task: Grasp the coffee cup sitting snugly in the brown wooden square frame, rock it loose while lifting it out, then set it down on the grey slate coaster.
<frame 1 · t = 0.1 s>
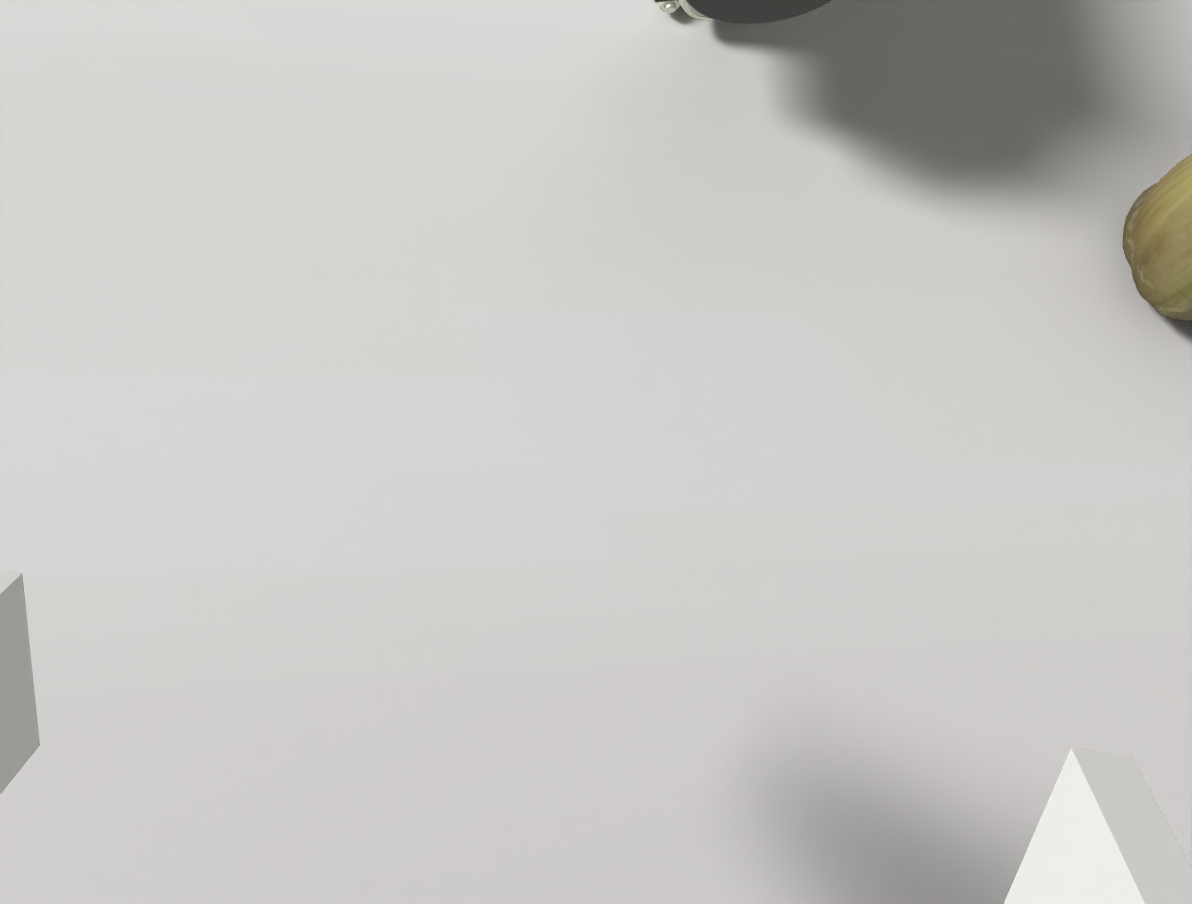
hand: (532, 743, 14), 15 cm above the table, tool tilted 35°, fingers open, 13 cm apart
fennel bulb: (1191, 262, 32), on the table
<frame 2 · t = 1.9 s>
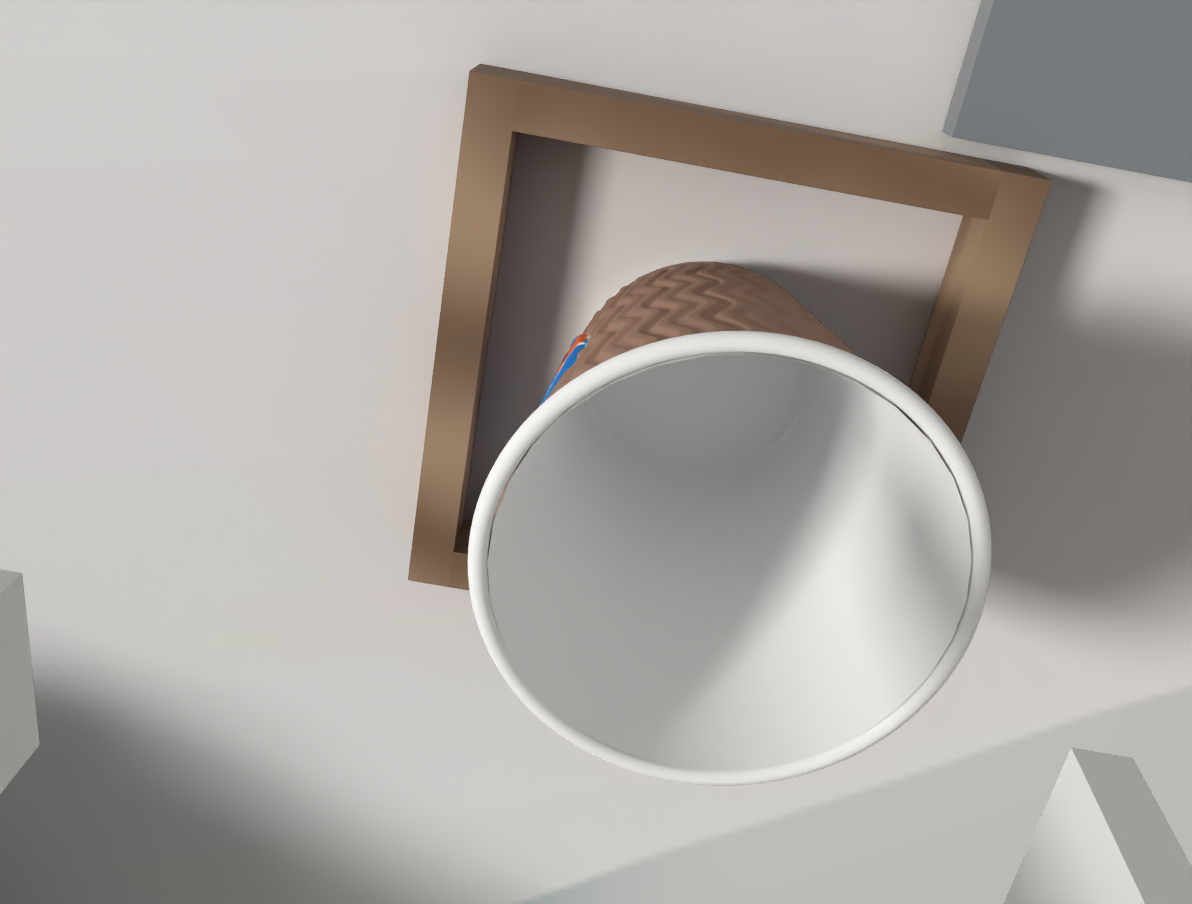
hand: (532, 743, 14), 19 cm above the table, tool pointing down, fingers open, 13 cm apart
brown wooden square frame: (696, 373, 32), on the table
coffee cup: (696, 371, 32), resting in brown wooden square frame
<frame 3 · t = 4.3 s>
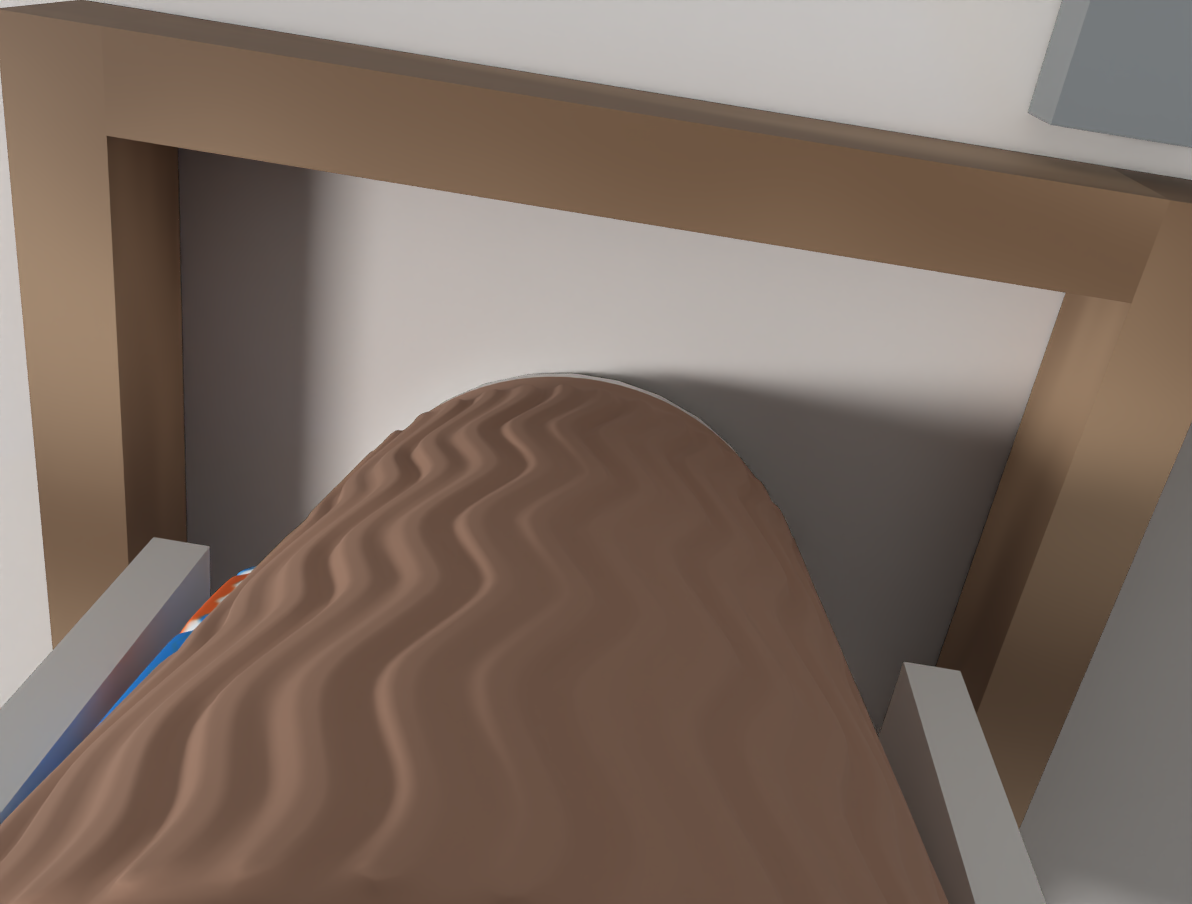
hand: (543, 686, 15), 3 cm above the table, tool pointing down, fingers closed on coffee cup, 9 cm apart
brown wooden square frame: (565, 569, 18), on the table
coffee cup: (567, 561, 18), resting in brown wooden square frame, touching gripper
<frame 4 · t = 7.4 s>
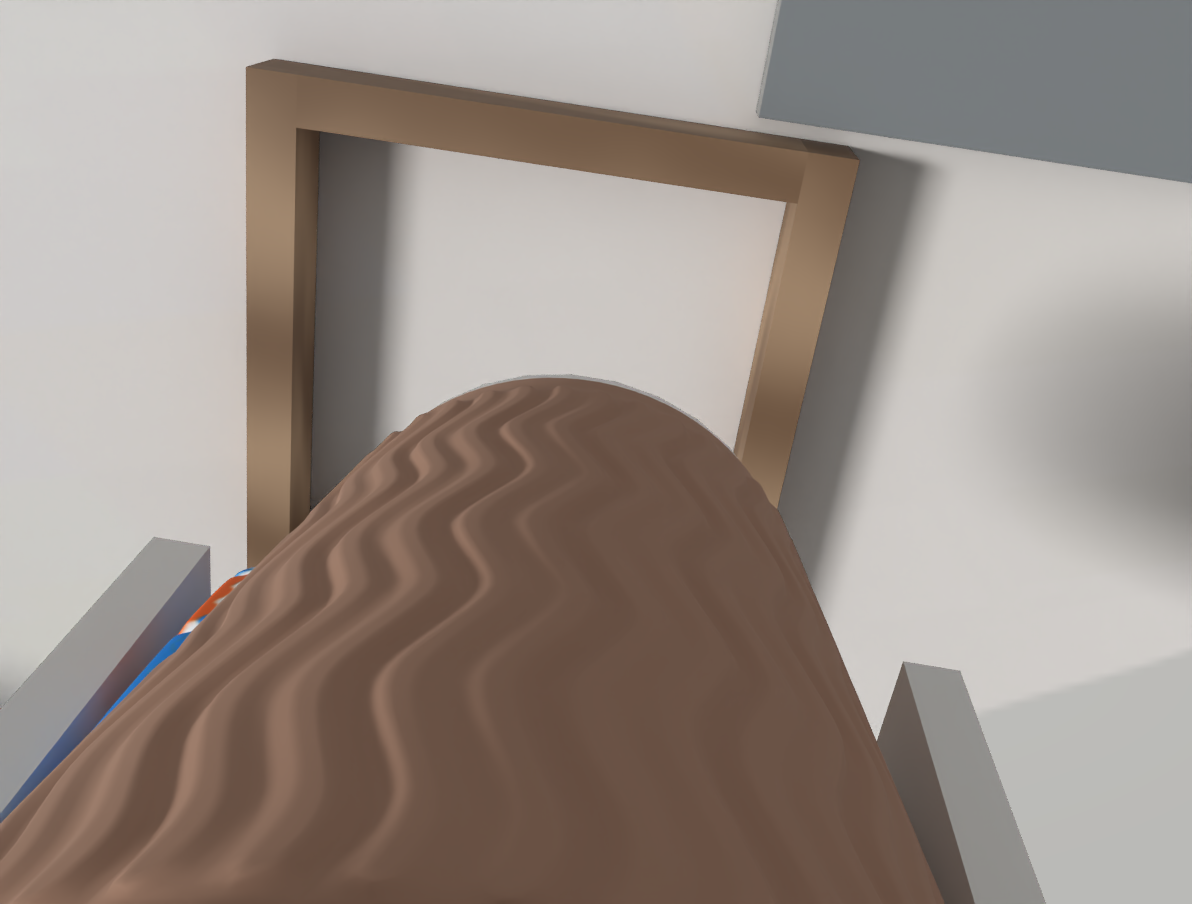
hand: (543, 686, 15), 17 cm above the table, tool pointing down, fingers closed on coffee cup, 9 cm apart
brown wooden square frame: (529, 371, 31), on the table
coffee cup: (566, 562, 18), point 14 cm above the table, touching gripper
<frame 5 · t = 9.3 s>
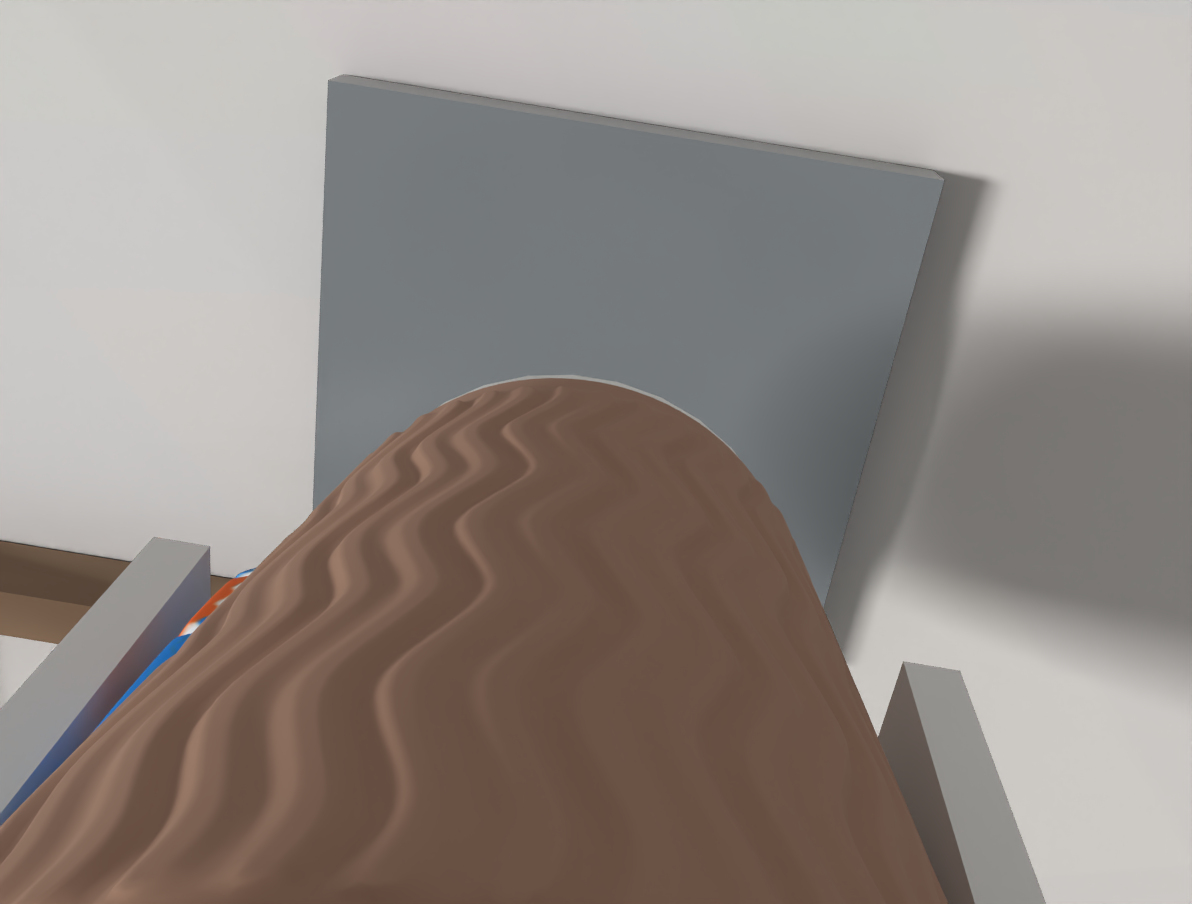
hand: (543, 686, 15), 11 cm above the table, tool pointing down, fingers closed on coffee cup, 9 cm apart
slate coaster: (595, 395, 24), on the table
brown wooden square frame: (136, 787, 30), on the table
coffee cup: (567, 563, 18), point 7 cm above the table, touching gripper
when the fingers open (5 cm above the table, at t = 10.7 s): coffee cup drops 1 cm, resting on slate coaster.
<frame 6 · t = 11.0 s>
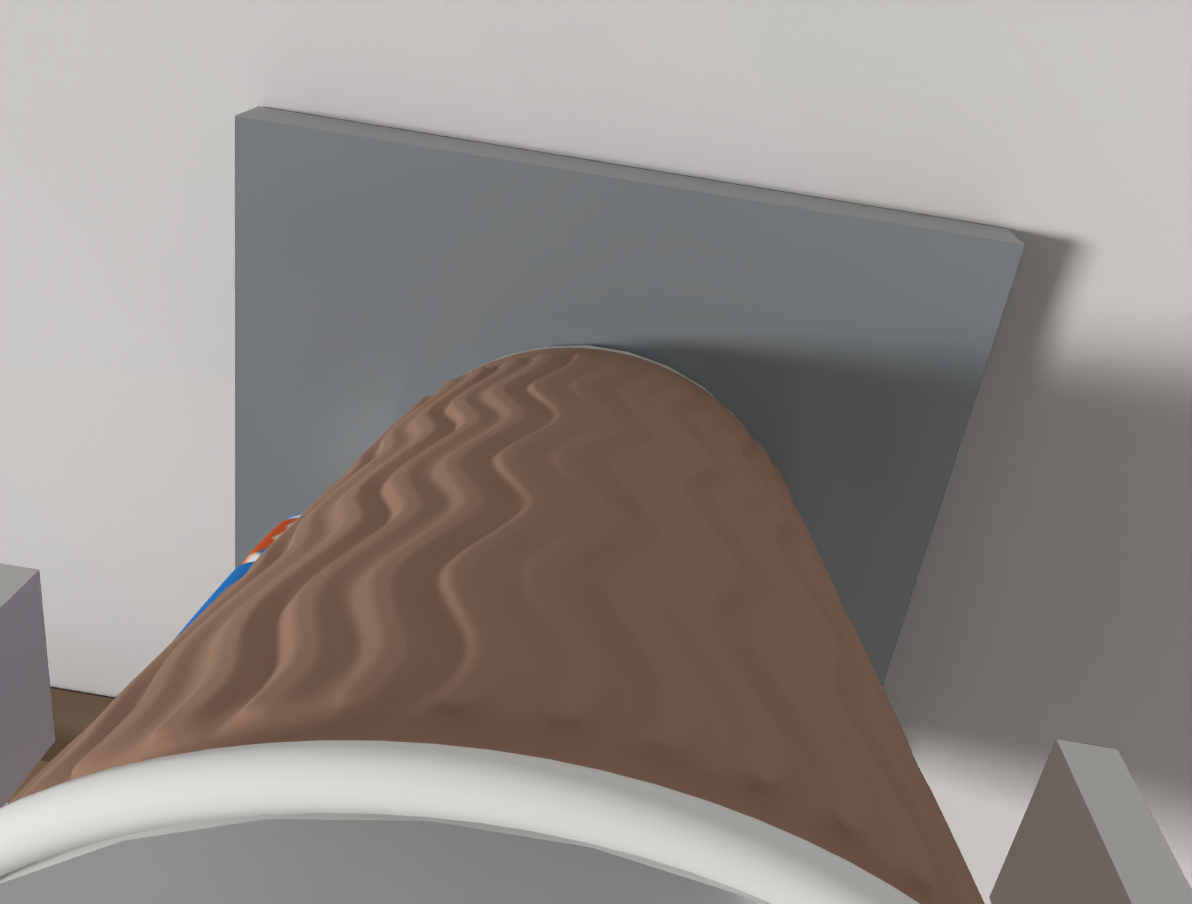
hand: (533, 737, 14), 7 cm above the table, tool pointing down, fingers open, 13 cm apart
slate coaster: (580, 497, 20), on the table
coffee cup: (580, 523, 19), point 1 cm above the table, touching slate coaster
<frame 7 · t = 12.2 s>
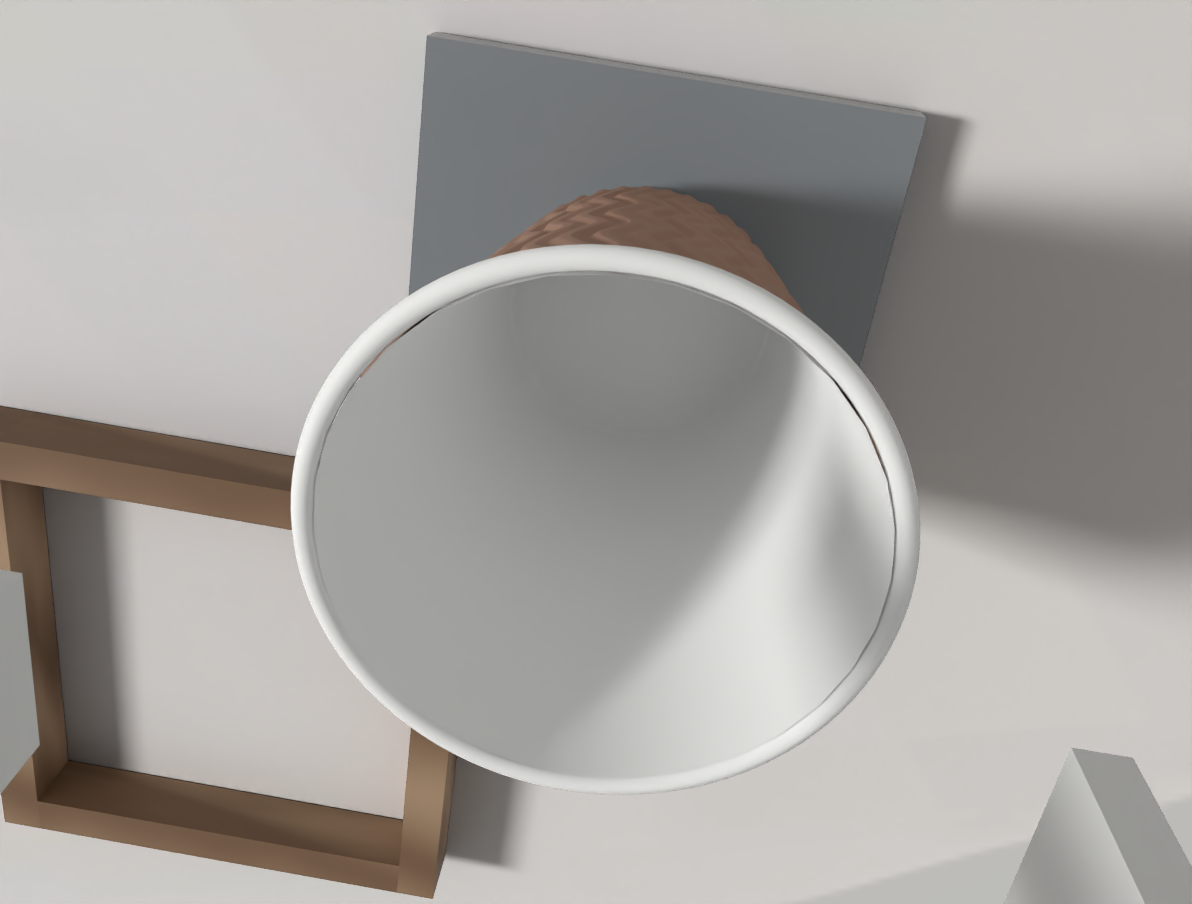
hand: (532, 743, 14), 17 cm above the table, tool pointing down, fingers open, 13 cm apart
slate coaster: (637, 302, 29), on the table
brown wooden square frame: (239, 649, 36), on the table
coffee cup: (639, 315, 29), point 1 cm above the table, touching slate coaster
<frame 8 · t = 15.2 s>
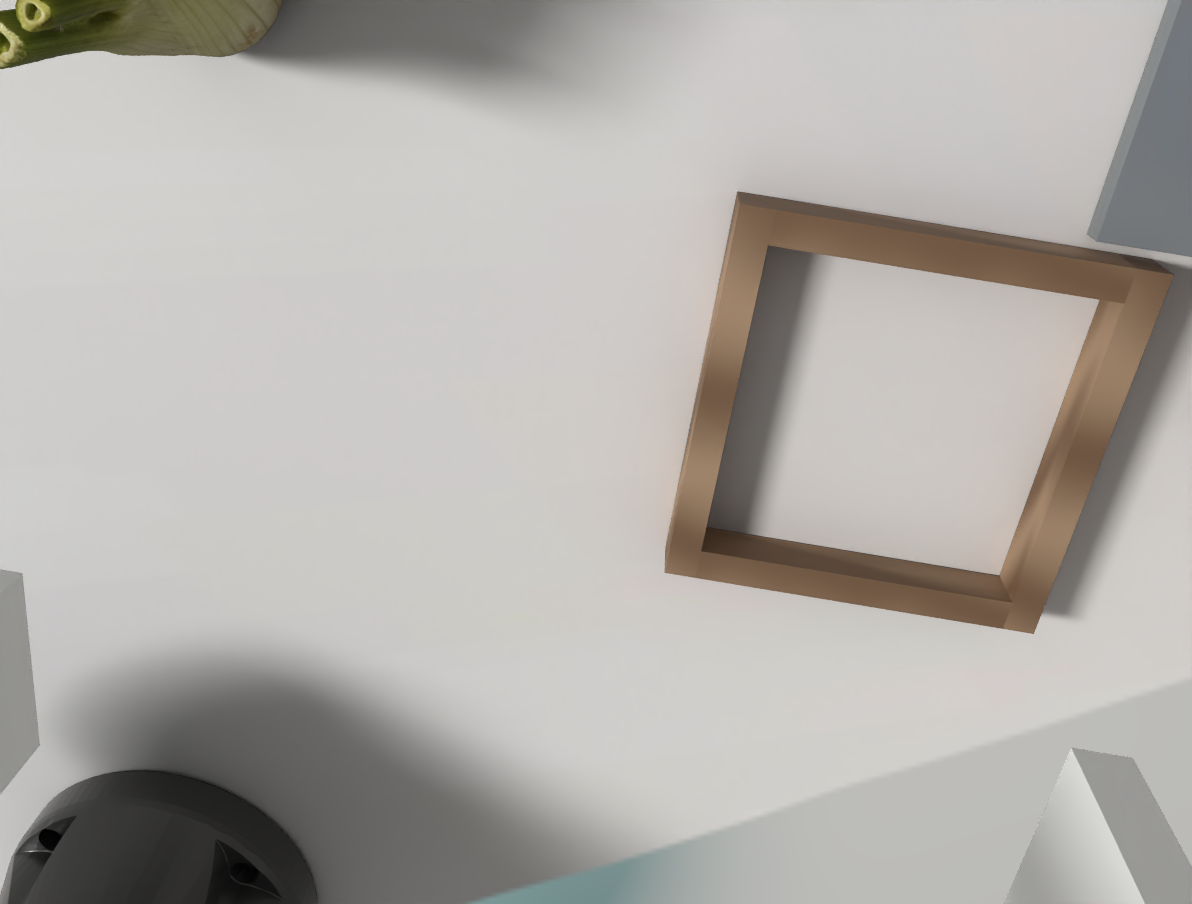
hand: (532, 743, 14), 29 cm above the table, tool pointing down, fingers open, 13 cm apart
brown wooden square frame: (889, 414, 42), on the table
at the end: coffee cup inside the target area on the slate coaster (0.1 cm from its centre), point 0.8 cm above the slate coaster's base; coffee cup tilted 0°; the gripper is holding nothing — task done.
